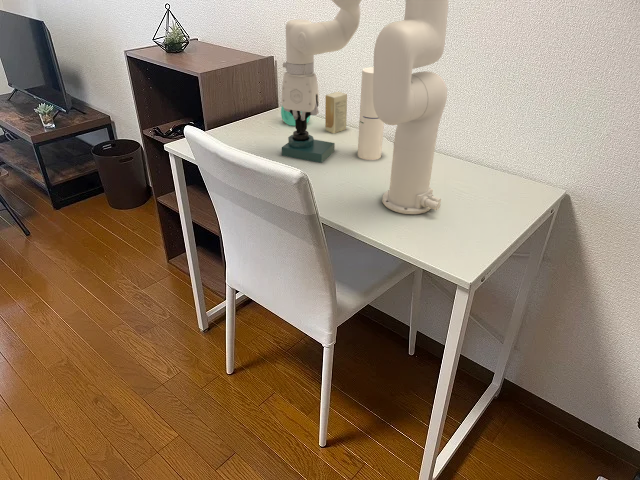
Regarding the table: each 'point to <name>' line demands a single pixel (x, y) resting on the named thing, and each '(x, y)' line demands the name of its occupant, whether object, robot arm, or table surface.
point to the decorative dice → (289, 117)
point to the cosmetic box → (335, 112)
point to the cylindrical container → (369, 121)
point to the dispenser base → (308, 149)
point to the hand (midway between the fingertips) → (301, 131)
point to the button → (300, 136)
